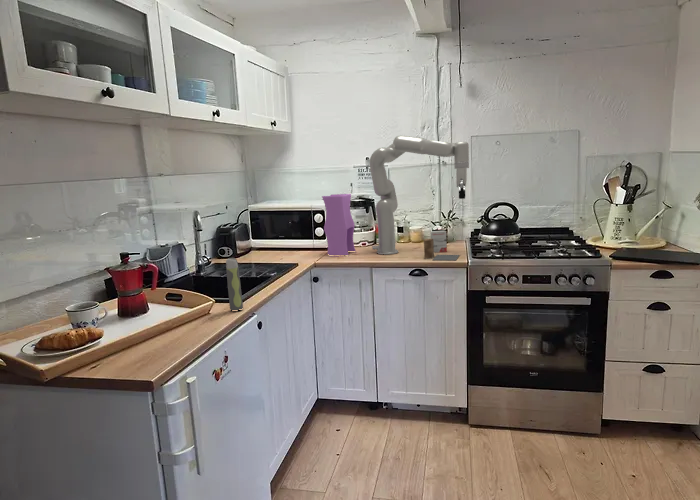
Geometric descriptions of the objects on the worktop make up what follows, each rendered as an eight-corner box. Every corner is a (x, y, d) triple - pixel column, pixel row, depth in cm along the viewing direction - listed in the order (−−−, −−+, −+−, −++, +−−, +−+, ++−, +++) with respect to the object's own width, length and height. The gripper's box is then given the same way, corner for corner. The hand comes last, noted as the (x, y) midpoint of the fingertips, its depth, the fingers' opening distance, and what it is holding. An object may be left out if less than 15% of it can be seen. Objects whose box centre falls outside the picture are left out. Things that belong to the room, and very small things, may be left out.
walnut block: (424, 258, 254) (423, 240, 253) (426, 256, 260) (426, 238, 258) (431, 258, 253) (431, 240, 251) (434, 256, 259) (433, 238, 257)
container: (334, 252, 292) (331, 194, 286) (356, 252, 287) (352, 193, 281) (325, 256, 279) (321, 196, 273) (348, 256, 274) (344, 195, 268)
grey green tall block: (228, 310, 180) (222, 258, 177) (240, 307, 183) (235, 256, 179) (233, 313, 176) (227, 260, 173) (245, 310, 179) (240, 257, 175)
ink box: (446, 250, 275) (445, 230, 273) (447, 252, 270) (446, 231, 268) (430, 251, 276) (430, 230, 274) (431, 252, 271) (430, 232, 269)
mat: (432, 260, 249) (432, 259, 249) (437, 255, 262) (437, 254, 262) (455, 260, 245) (455, 259, 245) (459, 255, 258) (459, 254, 258)
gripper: (454, 165, 264) (455, 197, 267) (453, 166, 247) (454, 199, 250) (469, 165, 262) (469, 196, 265) (468, 165, 245) (469, 198, 248)
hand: (462, 197), depth 257 cm, fingers open, 9 cm apart
